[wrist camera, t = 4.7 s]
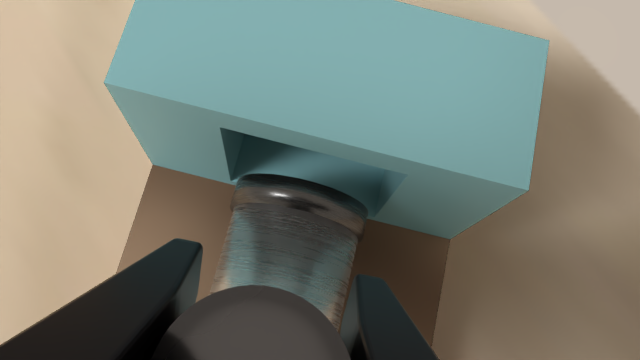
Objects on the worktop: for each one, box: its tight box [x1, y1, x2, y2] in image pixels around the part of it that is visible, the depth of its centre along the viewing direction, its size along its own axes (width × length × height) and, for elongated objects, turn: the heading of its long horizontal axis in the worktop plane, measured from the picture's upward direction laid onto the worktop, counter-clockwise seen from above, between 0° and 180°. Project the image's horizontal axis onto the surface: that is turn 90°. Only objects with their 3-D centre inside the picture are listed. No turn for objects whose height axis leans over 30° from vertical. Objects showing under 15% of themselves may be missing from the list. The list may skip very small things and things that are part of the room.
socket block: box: [104, 0, 549, 239], centre depth 14 cm, size 3×8×5 cm, turn 77°
